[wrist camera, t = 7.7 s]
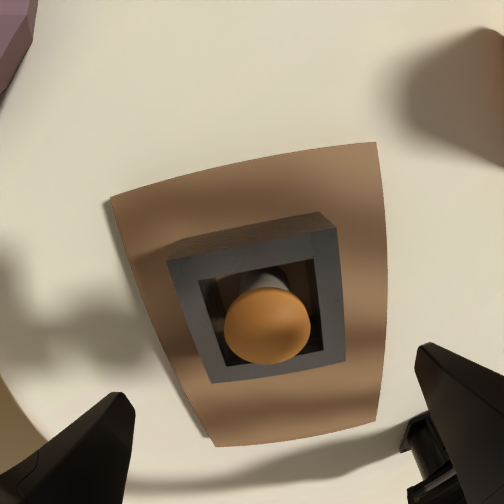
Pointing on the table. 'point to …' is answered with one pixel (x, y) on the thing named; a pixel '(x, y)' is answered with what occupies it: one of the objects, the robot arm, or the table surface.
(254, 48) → the table surface
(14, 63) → the flask
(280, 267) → the board
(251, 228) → the grey square frame
